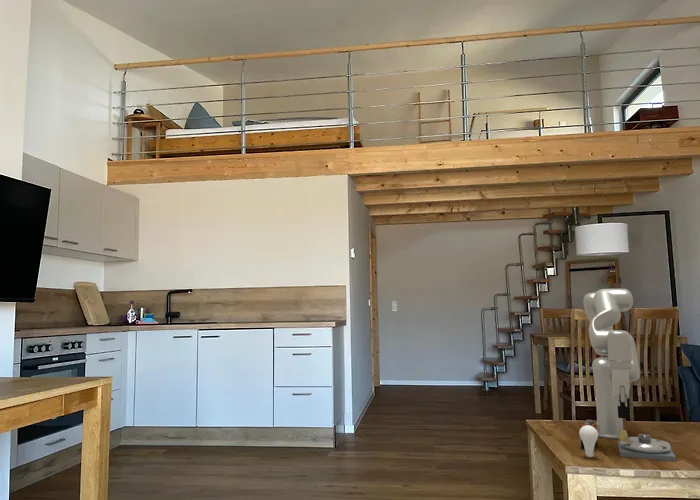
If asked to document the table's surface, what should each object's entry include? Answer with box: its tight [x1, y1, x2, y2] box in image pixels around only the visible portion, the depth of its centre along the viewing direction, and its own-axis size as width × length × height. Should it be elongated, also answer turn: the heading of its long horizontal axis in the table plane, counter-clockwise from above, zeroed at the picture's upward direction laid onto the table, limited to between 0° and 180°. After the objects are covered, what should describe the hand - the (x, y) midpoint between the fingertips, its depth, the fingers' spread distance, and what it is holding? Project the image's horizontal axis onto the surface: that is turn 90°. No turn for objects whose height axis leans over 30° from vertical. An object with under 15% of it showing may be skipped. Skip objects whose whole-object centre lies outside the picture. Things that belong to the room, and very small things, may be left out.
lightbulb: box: [578, 425, 599, 459], centre depth 192 cm, size 6×6×11 cm
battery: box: [579, 419, 599, 451], centre depth 204 cm, size 4×7×10 cm, turn 142°
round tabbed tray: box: [618, 429, 672, 453], centre depth 198 cm, size 16×16×6 cm
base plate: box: [617, 440, 677, 462], centre depth 198 cm, size 17×17×2 cm
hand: (623, 417), depth 195 cm, fingers closed
